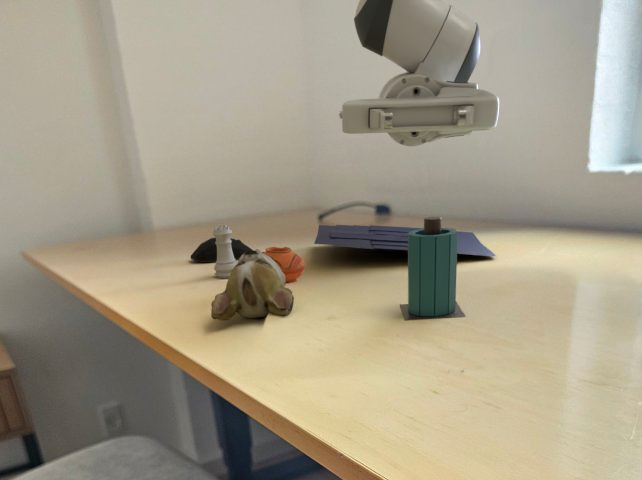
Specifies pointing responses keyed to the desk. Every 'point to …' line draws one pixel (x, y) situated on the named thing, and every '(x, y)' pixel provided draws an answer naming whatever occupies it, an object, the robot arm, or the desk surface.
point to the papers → (388, 238)
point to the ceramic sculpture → (253, 289)
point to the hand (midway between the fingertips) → (425, 119)
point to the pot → (287, 262)
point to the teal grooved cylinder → (432, 272)
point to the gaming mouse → (209, 250)
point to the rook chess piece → (223, 252)
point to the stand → (434, 228)
